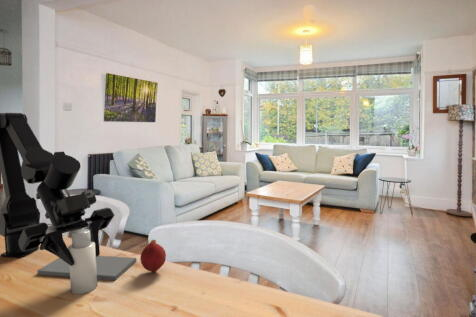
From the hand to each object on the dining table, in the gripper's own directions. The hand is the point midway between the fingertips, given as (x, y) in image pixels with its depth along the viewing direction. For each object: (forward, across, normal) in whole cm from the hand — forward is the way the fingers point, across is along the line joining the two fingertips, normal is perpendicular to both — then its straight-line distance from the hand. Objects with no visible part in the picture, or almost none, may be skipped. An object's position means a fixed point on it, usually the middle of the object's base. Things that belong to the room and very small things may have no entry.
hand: (85, 260), depth 68 cm
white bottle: (+4, 0, +6) cm, 7 cm away
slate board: (-2, +6, +12) cm, 13 cm away
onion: (+8, +14, +1) cm, 16 cm away
